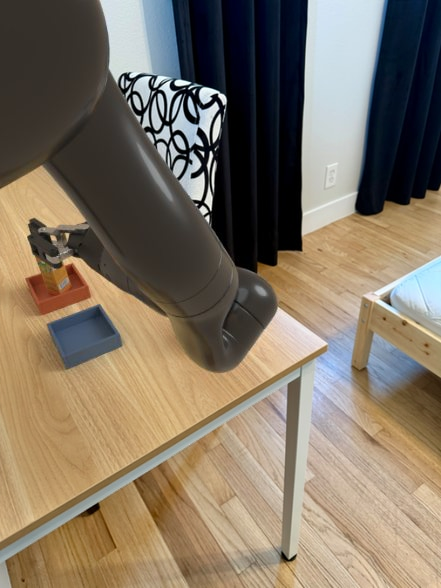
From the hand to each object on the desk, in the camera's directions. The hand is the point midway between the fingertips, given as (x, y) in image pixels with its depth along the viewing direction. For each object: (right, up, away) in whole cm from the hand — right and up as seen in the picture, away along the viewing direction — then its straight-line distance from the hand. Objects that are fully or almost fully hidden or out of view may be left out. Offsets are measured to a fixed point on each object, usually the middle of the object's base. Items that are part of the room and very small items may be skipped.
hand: (61, 214), depth 61 cm
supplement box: (-7, -11, +18) cm, 23 cm away
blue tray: (+1, -19, +9) cm, 21 cm away
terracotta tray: (-7, -11, +19) cm, 23 cm away
